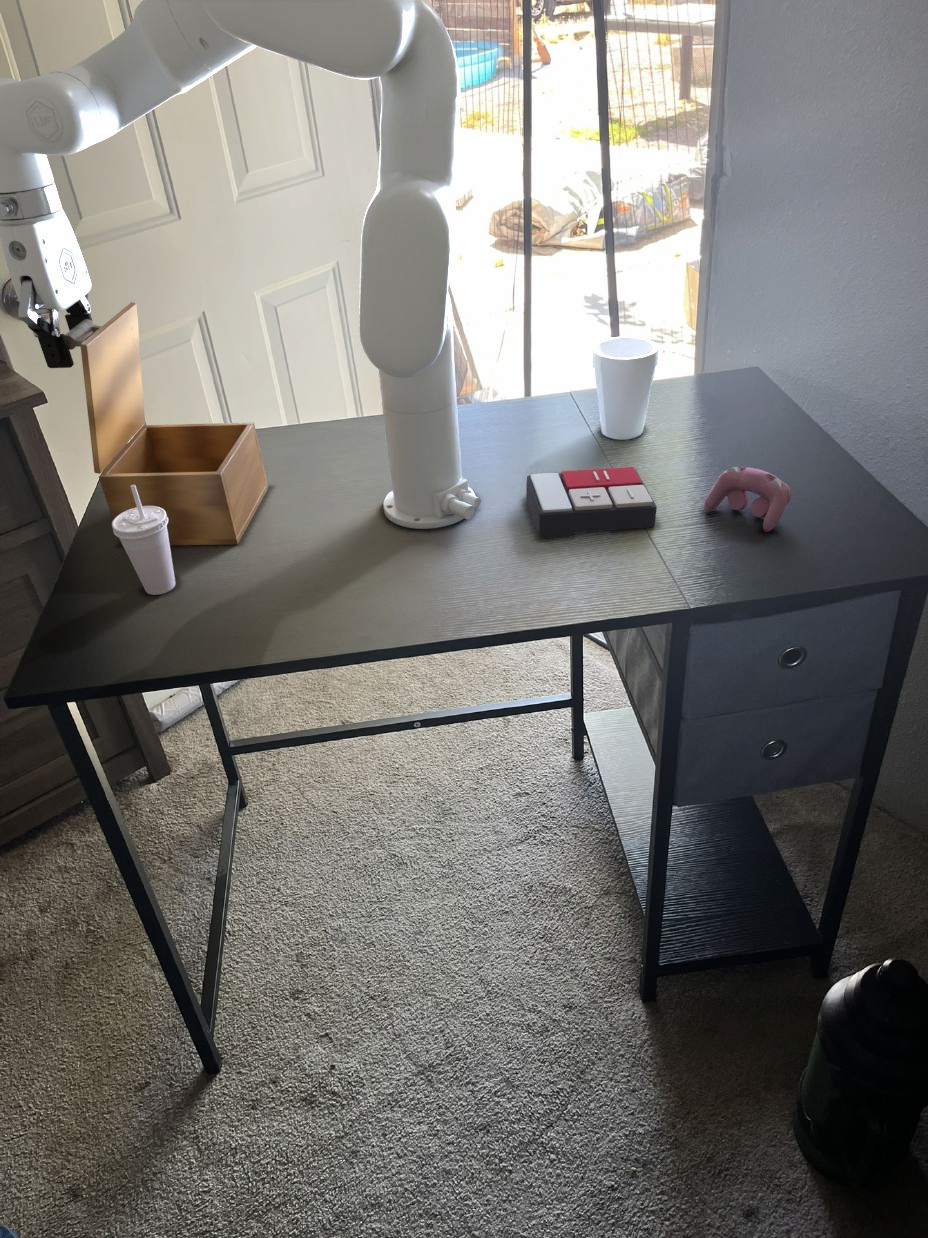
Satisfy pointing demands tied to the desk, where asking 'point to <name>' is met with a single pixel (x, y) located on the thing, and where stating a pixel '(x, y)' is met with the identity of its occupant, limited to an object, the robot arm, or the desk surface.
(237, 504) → the box
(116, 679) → the desk surface
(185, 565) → the desk surface
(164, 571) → the smoothie
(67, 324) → the robot arm
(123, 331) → the box lid
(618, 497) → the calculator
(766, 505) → the video game controller
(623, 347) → the foam cup
